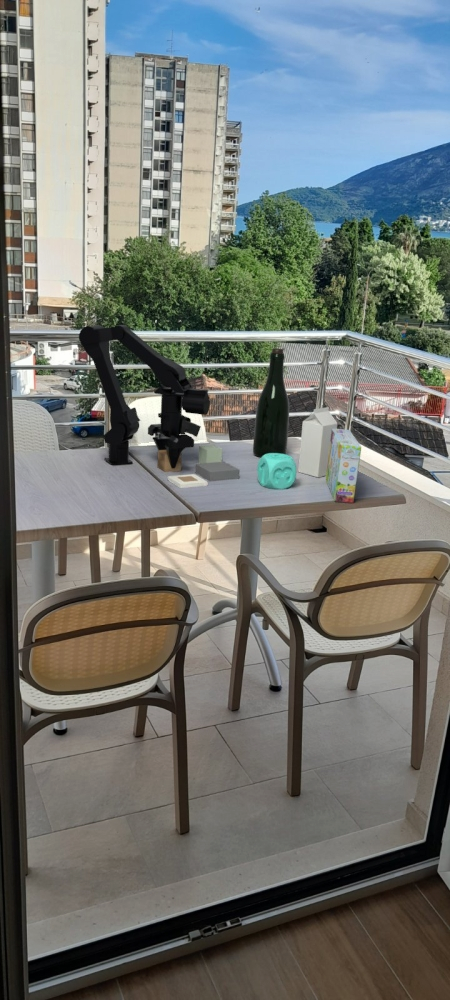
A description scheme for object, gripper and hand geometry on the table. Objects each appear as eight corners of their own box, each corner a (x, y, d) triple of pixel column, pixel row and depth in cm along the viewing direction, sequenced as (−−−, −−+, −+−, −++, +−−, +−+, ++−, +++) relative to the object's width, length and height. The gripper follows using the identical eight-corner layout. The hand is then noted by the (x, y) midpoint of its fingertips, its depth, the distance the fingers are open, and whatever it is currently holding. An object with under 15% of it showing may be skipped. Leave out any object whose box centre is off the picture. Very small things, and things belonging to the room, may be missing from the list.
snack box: (355, 503, 191) (362, 446, 186) (333, 502, 191) (340, 444, 186) (344, 481, 211) (350, 428, 206) (324, 479, 211) (329, 427, 206)
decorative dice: (255, 481, 204) (258, 453, 202) (282, 480, 207) (284, 452, 205) (268, 490, 197) (270, 461, 195) (295, 488, 200) (298, 459, 198)
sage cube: (198, 462, 221) (199, 446, 219) (213, 461, 223) (214, 445, 222) (206, 467, 217) (206, 450, 215) (221, 465, 219) (222, 449, 217)
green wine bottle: (264, 449, 241) (272, 345, 231) (292, 455, 235) (301, 349, 225) (246, 455, 233) (253, 347, 223) (274, 461, 227) (283, 351, 217)
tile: (167, 479, 201) (167, 475, 201) (194, 477, 205) (194, 473, 204) (180, 488, 194) (180, 484, 194) (207, 485, 198) (207, 481, 198)
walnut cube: (157, 467, 213) (158, 450, 211) (173, 466, 215) (174, 449, 213) (164, 472, 208) (165, 454, 207) (180, 470, 211) (181, 453, 209)
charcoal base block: (195, 474, 210) (195, 463, 209) (223, 471, 214) (223, 461, 213) (209, 482, 202) (210, 472, 201) (238, 480, 207) (239, 469, 206)
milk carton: (332, 474, 217) (339, 409, 211) (317, 478, 212) (324, 411, 206) (312, 468, 221) (318, 405, 216) (297, 472, 216) (303, 407, 211)
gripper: (212, 416, 203) (209, 472, 207) (183, 403, 218) (181, 455, 223) (175, 418, 197) (173, 475, 202) (147, 405, 213) (146, 458, 218)
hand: (169, 465), depth 211 cm, fingers closed on walnut cube, 5 cm apart
